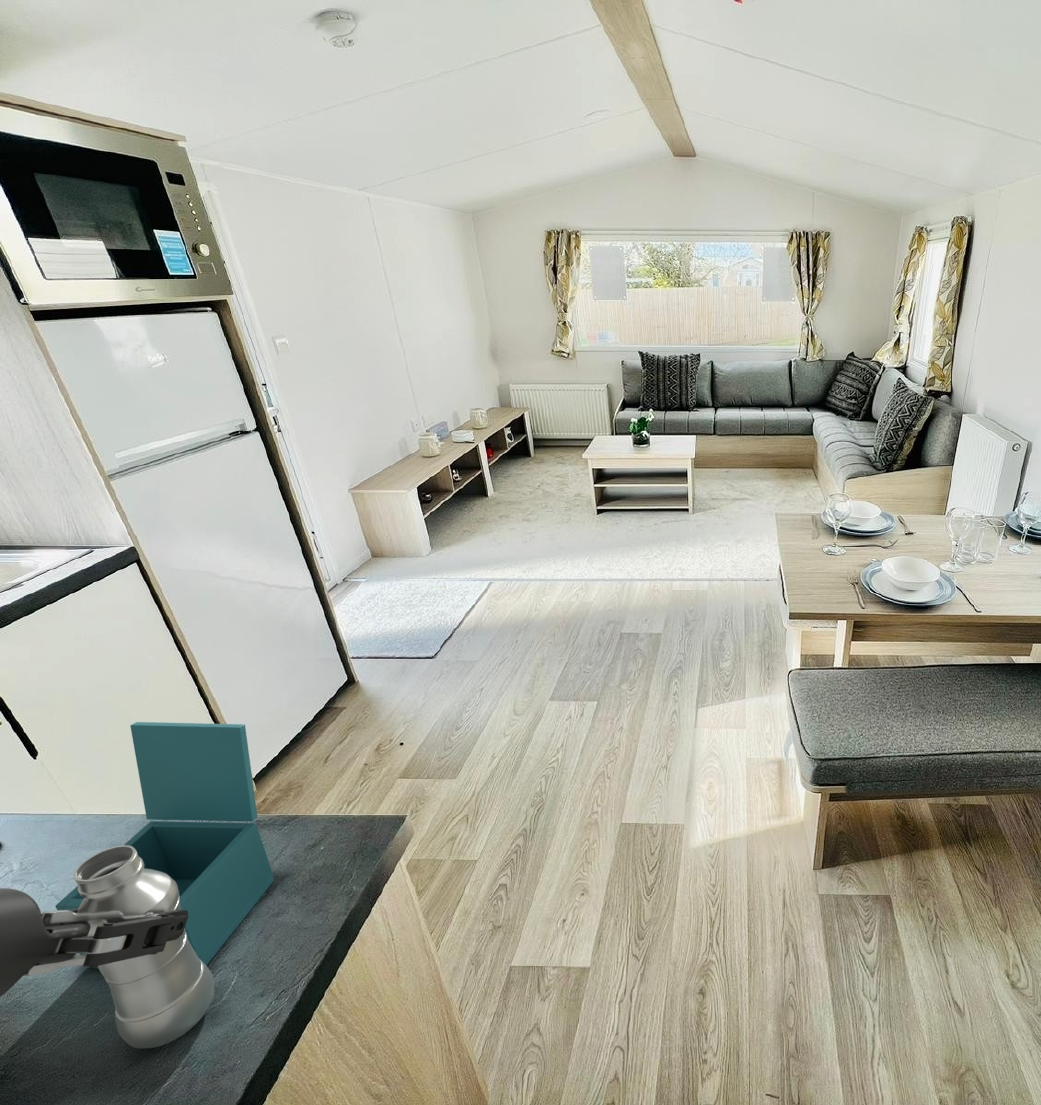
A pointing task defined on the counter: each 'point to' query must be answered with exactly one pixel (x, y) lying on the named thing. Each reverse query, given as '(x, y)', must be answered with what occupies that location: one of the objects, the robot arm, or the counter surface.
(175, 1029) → the silver metal bottle
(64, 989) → the counter surface
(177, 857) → the cool box
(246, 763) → the cool box lid
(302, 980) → the counter surface
